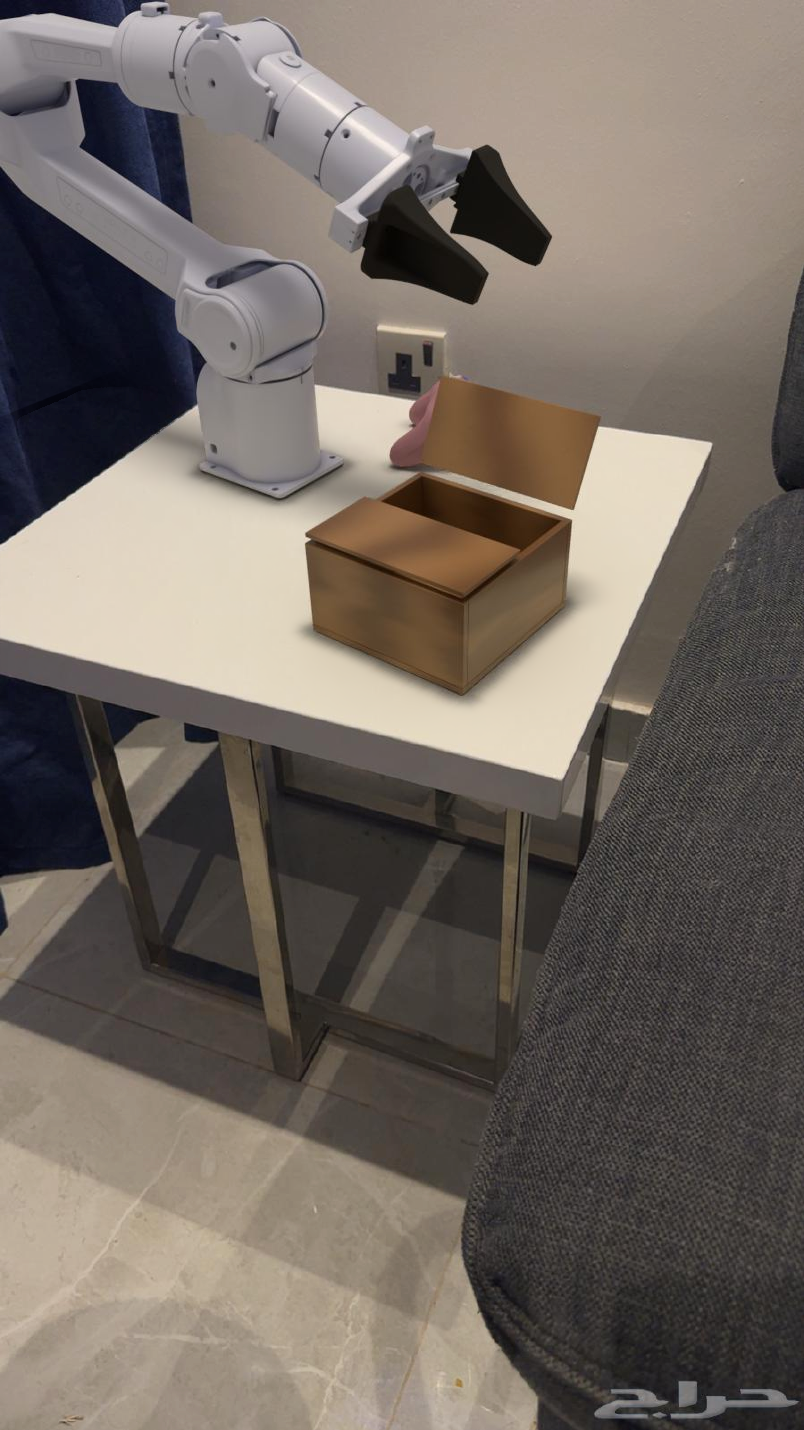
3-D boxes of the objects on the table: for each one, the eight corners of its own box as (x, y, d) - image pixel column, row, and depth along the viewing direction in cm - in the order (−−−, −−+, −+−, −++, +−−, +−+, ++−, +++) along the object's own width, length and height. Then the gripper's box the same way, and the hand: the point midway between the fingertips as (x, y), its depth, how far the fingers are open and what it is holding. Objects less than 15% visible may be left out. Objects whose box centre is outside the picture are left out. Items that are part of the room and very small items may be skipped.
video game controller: (431, 489, 86) (470, 419, 82) (383, 463, 85) (419, 392, 81) (451, 439, 94) (487, 373, 89) (406, 415, 93) (440, 347, 88)
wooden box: (312, 629, 68) (303, 532, 63) (422, 553, 75) (420, 461, 71) (462, 695, 62) (463, 594, 57) (565, 606, 69) (573, 509, 65)
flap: (441, 375, 69) (443, 375, 69) (420, 462, 70) (422, 462, 71) (599, 415, 63) (601, 416, 63) (572, 510, 65) (574, 510, 65)
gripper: (288, 115, 59) (471, 247, 57) (431, 65, 68) (595, 178, 66) (266, 227, 65) (433, 351, 63) (401, 168, 73) (551, 275, 71)
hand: (513, 269), depth 64 cm, fingers open, 7 cm apart
